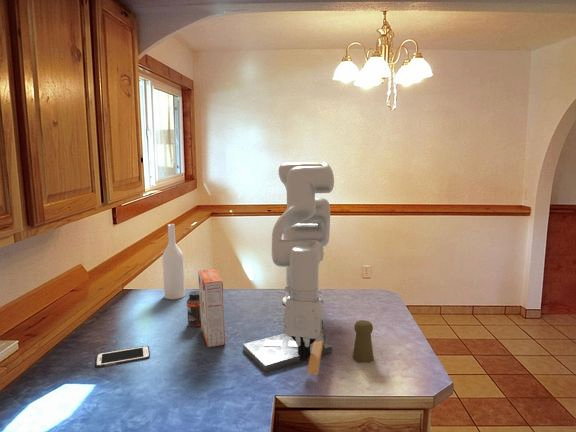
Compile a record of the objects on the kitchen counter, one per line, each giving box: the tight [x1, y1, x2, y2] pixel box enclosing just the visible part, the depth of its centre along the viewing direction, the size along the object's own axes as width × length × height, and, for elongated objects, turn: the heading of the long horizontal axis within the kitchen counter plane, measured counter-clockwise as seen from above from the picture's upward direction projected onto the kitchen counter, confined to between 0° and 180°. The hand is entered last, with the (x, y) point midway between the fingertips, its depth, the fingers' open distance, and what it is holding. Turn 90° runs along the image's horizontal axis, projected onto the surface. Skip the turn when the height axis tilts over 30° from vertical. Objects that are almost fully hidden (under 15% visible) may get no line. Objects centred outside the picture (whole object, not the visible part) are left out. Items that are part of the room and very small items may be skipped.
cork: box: [352, 319, 375, 364], centre depth 124 cm, size 6×6×11 cm
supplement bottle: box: [186, 290, 201, 328], centre depth 149 cm, size 6×6×11 cm
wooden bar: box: [307, 329, 327, 375], centre depth 119 cm, size 22×3×3 cm, turn 171°
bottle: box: [161, 223, 186, 300], centre depth 175 cm, size 8×8×30 cm
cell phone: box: [95, 345, 151, 368], centre depth 127 cm, size 8×15×1 cm, turn 110°
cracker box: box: [197, 268, 226, 348], centre depth 137 cm, size 14×6×21 cm, turn 19°
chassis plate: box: [242, 333, 333, 373], centre depth 129 cm, size 22×15×4 cm
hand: (304, 358), depth 117 cm, fingers closed
